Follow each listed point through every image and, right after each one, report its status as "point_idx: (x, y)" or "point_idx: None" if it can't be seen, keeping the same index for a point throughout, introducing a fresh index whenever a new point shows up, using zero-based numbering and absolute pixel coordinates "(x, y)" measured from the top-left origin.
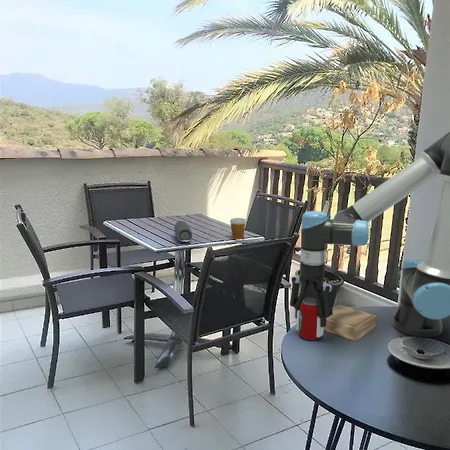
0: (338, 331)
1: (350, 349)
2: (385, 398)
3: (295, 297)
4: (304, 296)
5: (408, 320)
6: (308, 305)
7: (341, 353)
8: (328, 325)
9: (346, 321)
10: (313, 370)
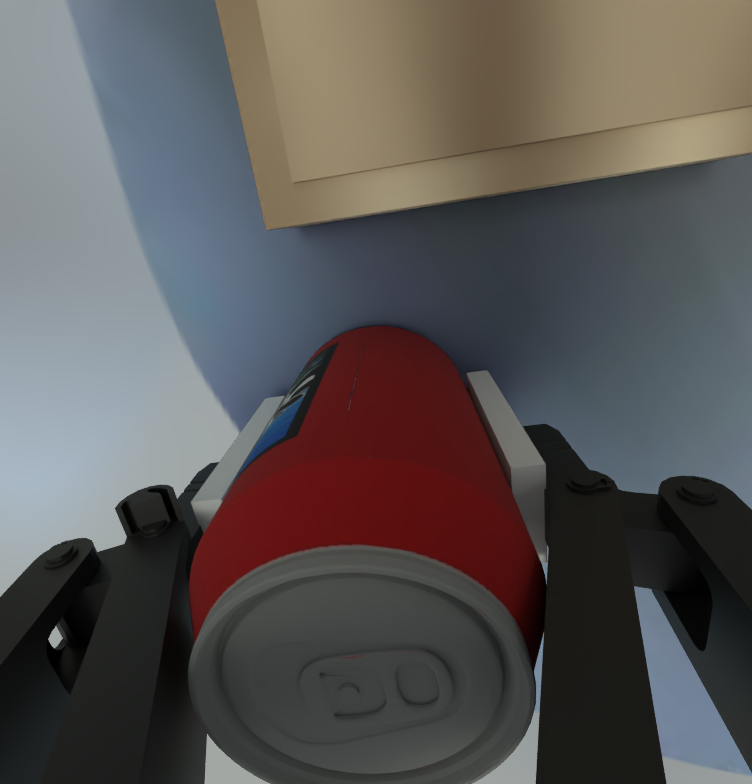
0: (543, 187)
1: (739, 329)
2: None
3: (45, 721)
4: (176, 760)
5: None
6: (428, 770)
7: (707, 430)
8: (426, 205)
9: (638, 45)
10: (661, 671)
